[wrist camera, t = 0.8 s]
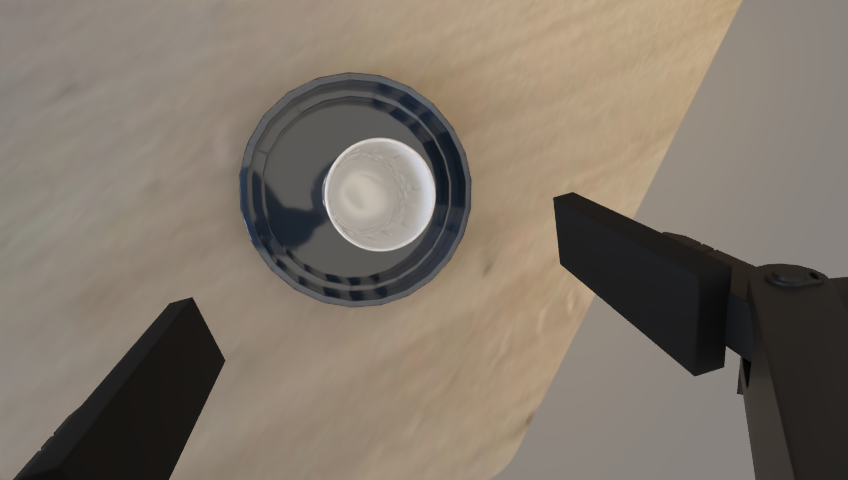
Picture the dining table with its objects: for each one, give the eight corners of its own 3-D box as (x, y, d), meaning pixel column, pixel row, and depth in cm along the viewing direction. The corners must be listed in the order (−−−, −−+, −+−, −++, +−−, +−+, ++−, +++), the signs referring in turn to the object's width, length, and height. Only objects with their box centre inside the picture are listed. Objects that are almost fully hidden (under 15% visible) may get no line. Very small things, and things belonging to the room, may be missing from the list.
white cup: (363, 252, 38) (387, 273, 29) (296, 197, 35) (299, 200, 26) (416, 190, 39) (456, 191, 29) (355, 132, 36) (377, 112, 27)
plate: (239, 74, 33) (233, 60, 29) (456, 94, 39) (473, 84, 36) (250, 303, 36) (245, 316, 32) (452, 288, 42) (468, 297, 38)
